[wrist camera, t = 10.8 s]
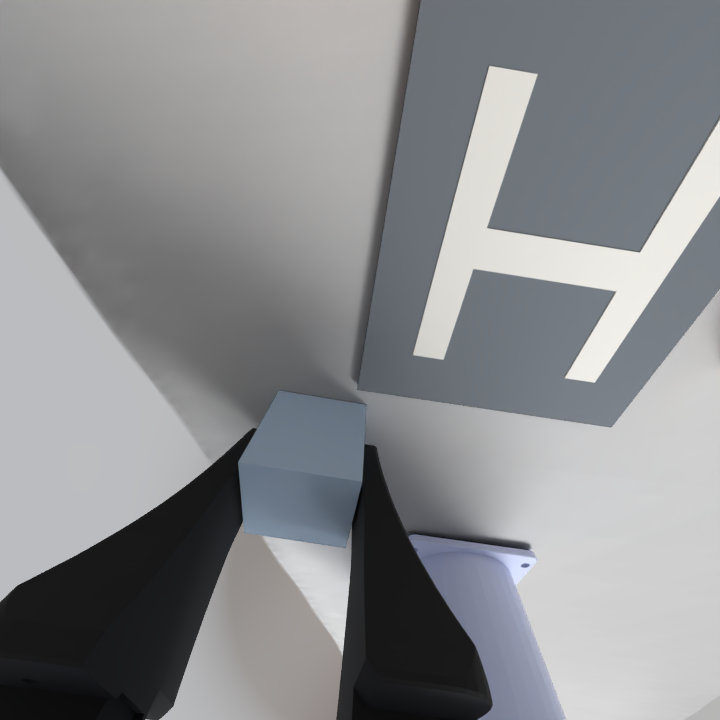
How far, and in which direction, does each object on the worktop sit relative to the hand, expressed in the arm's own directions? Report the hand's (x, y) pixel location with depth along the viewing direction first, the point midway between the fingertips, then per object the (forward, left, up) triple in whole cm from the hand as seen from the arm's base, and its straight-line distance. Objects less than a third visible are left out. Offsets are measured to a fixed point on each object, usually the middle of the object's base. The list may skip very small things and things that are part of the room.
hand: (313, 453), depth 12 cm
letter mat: (+9, -7, -1) cm, 11 cm away
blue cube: (0, 0, -1) cm, 1 cm away
